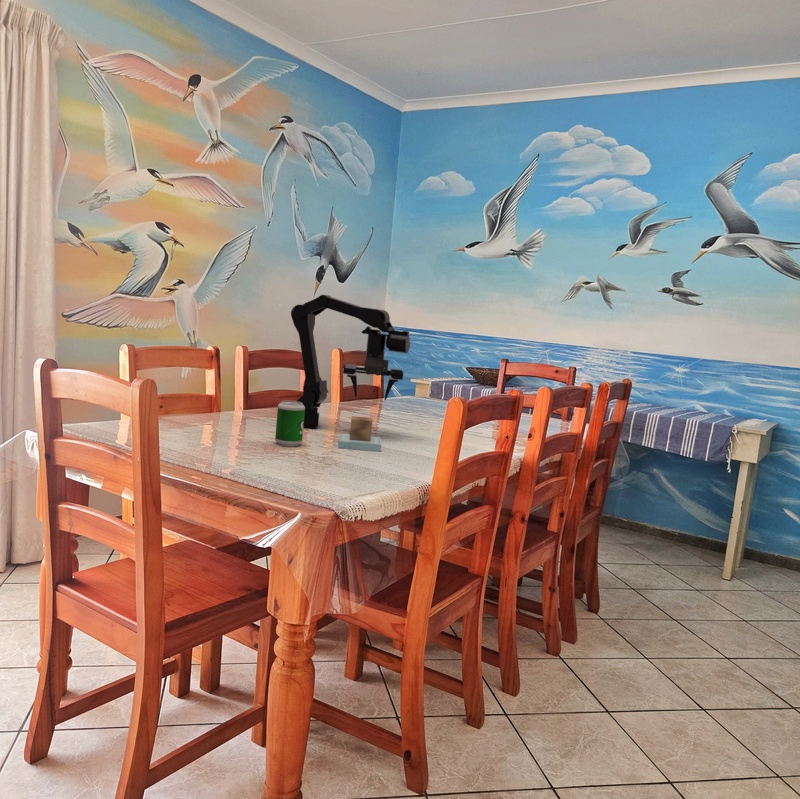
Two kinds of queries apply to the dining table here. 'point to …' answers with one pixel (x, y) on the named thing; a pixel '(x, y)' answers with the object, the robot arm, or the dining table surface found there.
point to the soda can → (290, 423)
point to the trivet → (359, 443)
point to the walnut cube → (360, 428)
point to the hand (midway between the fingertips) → (370, 398)
